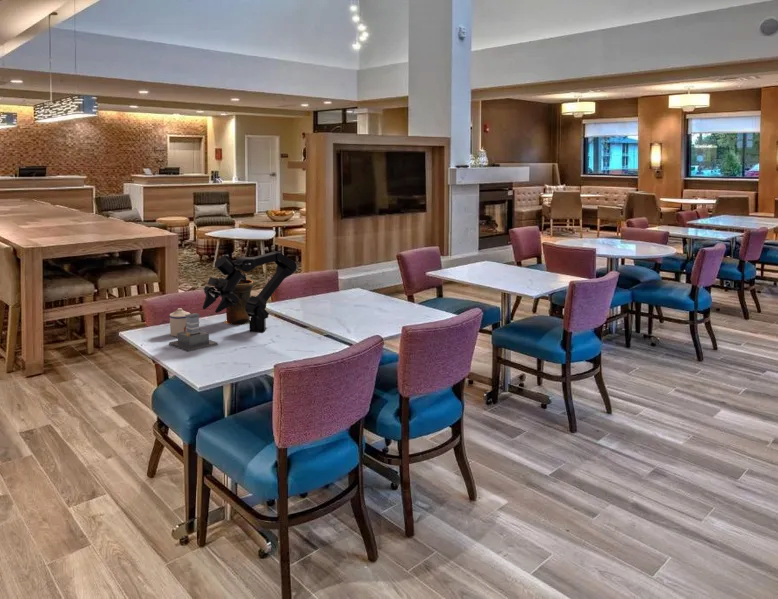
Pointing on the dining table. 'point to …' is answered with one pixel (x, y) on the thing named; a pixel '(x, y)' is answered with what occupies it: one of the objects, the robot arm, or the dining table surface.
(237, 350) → the dining table surface
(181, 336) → the stand base
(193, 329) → the column
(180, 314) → the teacup with lid
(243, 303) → the vessel
